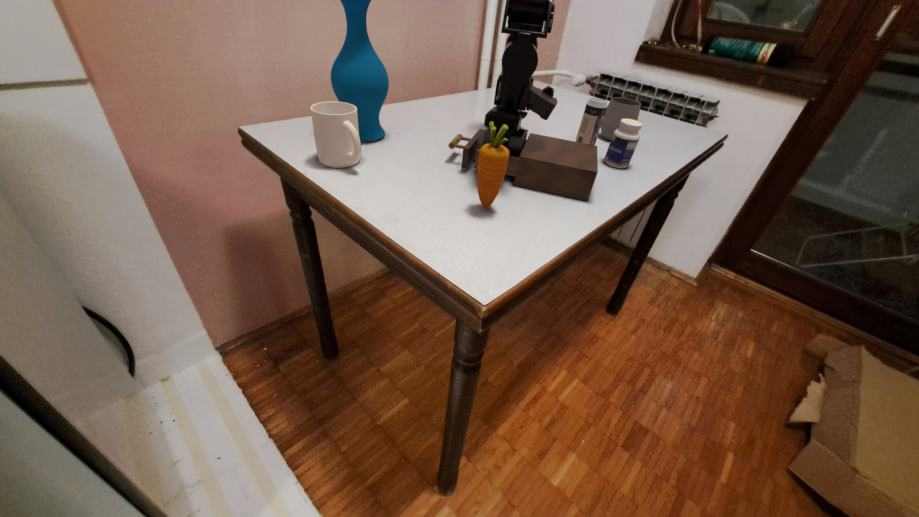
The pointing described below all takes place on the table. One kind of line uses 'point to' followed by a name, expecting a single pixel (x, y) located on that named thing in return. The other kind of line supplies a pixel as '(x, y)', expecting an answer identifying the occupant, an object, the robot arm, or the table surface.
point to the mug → (336, 133)
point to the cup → (618, 114)
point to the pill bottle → (623, 143)
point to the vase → (360, 72)
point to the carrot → (492, 166)
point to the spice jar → (591, 121)
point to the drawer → (473, 150)
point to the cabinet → (557, 166)
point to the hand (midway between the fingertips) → (503, 151)
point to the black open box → (510, 141)
